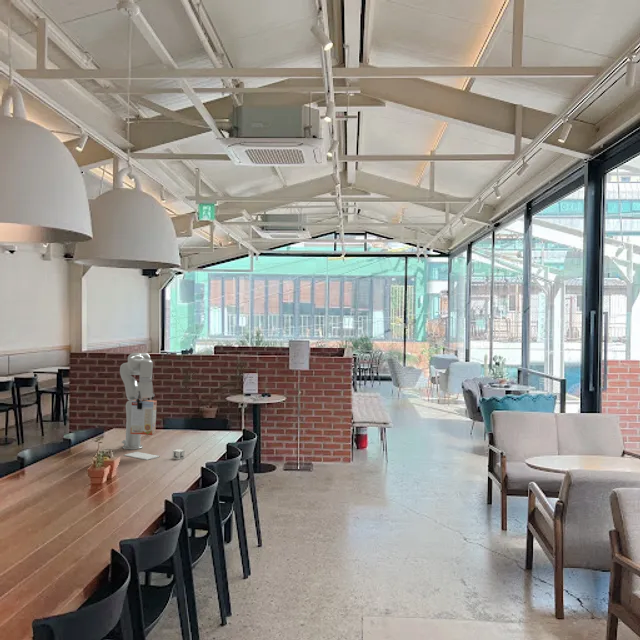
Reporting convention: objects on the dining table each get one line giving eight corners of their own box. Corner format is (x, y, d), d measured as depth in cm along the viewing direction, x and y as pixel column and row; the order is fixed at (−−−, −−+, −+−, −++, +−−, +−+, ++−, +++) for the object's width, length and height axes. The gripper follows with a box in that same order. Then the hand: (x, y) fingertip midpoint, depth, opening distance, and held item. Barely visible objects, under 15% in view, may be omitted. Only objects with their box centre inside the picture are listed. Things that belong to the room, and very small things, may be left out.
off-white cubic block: (172, 458, 366) (172, 450, 366) (177, 457, 371) (178, 449, 371) (178, 459, 364) (179, 451, 364) (184, 458, 368) (184, 450, 368)
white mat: (123, 455, 367) (123, 454, 367) (136, 452, 377) (136, 451, 377) (147, 460, 359) (147, 459, 359) (159, 457, 368) (159, 456, 368)
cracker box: (155, 433, 370) (157, 400, 370) (151, 435, 364) (153, 401, 364) (134, 432, 372) (135, 398, 372) (129, 434, 366) (131, 400, 366)
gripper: (151, 378, 378) (149, 406, 378) (130, 380, 362) (129, 409, 362) (160, 379, 374) (158, 407, 374) (140, 381, 359) (138, 410, 359)
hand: (144, 408), depth 368 cm, fingers closed on cracker box, 7 cm apart
